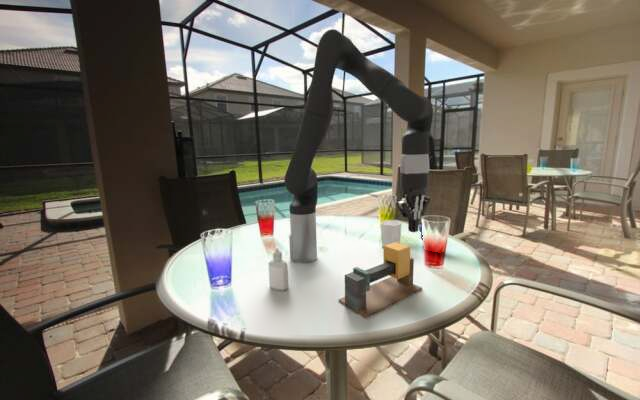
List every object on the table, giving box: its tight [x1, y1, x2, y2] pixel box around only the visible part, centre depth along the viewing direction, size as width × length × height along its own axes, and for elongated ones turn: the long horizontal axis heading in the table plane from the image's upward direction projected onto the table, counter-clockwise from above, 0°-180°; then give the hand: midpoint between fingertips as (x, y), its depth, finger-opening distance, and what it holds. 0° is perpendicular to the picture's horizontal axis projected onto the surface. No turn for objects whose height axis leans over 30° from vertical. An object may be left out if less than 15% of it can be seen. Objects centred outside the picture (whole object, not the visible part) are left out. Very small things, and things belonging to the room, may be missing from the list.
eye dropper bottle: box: [268, 247, 290, 291], centre depth 84 cm, size 4×6×12 cm
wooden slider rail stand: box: [338, 257, 423, 319], centre depth 78 cm, size 22×10×9 cm, turn 127°
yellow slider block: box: [383, 242, 411, 279], centre depth 81 cm, size 5×5×8 cm
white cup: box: [380, 219, 403, 249], centre depth 115 cm, size 8×8×10 cm
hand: (413, 231), depth 84 cm, fingers closed
